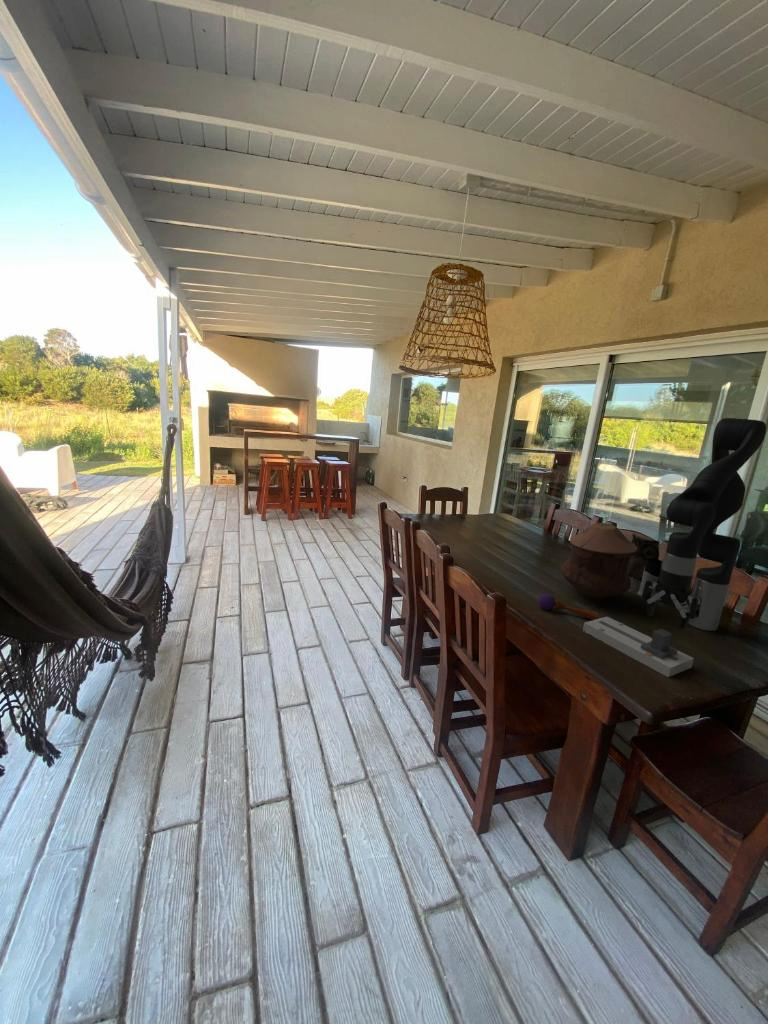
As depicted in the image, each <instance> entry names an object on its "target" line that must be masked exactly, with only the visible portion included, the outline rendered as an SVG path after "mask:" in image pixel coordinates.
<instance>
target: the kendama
mask: <svg viewBox="0 0 768 1024" xmlns="http://www.w3.org/2000/svg"><path fill="white" fill-rule="evenodd" d="M537 603H538V606H539V607H540V608H541V609H543V610H546V611H547V610H548V611H549V610H552V609H554V611H557V610H558V611H559V610H567V611H569V612H571V613H575V614H576V615H579V616H582V617H585V619H589V620H590V621H592V620H596V619H599V618H598V617H599V612H597V611H591V610H587V609H583V608H577V607H573V606H567V605H566V604H565V603H564V602H562V601H561V600H559V599H558V598H557V599H556V598H555V597H554V596H553V595H552V594H551V593H547V592H546V593H542V594H540V595H539V597H538V598H537Z"/></svg>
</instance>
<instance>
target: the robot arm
mask: <svg viewBox="0 0 768 1024" xmlns="http://www.w3.org/2000/svg"><path fill="white" fill-rule="evenodd" d="M714 427H715V428H714V431H713V436H712V447H711V463H710V464H708V465H706V466H705V467H704V468H703V469H702V470H700V471H699V473H698V474H697V475H696V477H695V479H694V480H693V482H692V483H691V485H690V486H689V487H688V488H686V489H685V490H684V491H683V492H681V493H680V494H678V495H676V497H675V498H674V499H672V501H670V502H669V504H668V506H667V508H666V517H667V519H668V520H669V522H671V523H674V524H678V525H681V526H688V527H692V529H691V530H690V531H688V532H683V531H682V532H681V531H676V532H672V533H670V535H669V537H668V541H667V546H666V550H665V552H664V556H663V559H662V561H663V562H662V566H661V571H660V575H659V582H658V583H656V582H654V580H649V581H646V583H645V587H644V590H643V594H642V596H641V598H642V599H643V600H645V601H646V602H647V605H646V611H645V612H646V613H647V614H646V615H647V616H649V617H652V616H654V614H655V611H656V607H657V603H656V602H658V601H662V602H664V603H668V604H670V605H672V606H675V607H676V610H677V611H678V612H679V613H680V619H679V622H678V627H677V629H678V630H680V631H681V630H684V629H686V628H688V627H689V625H690V626H691V627H694V628H696V629H699V630H703V631H709V632H715V631H717V630H718V628H719V627H718V626H719V624H720V619H721V616H722V613H723V608H724V606H725V605H724V604H725V601H726V598H727V593H728V589H729V586H730V581H731V579H732V578H731V577H732V575H733V574H732V573H733V570H734V568H735V565H736V562H737V558H738V555H739V552H740V548H741V541H740V539H739V538H737V537H733V536H727V535H724V534H717V533H714V532H715V530H716V529H717V528H718V527H719V526H720V525H722V523H724V522H726V521H727V520H728V519H730V518H731V517H732V516H734V515H735V514H737V513H738V512H739V511H740V510H741V509H742V507H743V504H744V500H745V493H746V485H745V482H744V480H743V479H742V477H741V475H740V474H739V472H738V471H740V469H741V468H742V467H743V466H744V465H745V464H746V463H747V462H748V461H749V459H751V458H752V456H754V454H755V453H756V452H757V451H758V450H759V448H760V447H761V445H762V444H763V442H764V439H765V436H766V433H767V424H766V423H765V422H764V421H762V420H758V419H748V418H747V419H746V418H735V417H727V418H726V417H724V418H722V419H720V420H719V421H718V422H717V423H716V425H715V426H714ZM730 451H732V452H731V453H730ZM697 557H700V558H701V559H704V560H708V561H712V562H718V563H721V565H718V566H713V567H700V568H698V569H697V571H696V574H695V578H694V573H695V569H696V565H697ZM693 578H694V582H693ZM692 582H693V586H692ZM655 587H656V590H657V592H658V594H656V595H654V596H653V597H651V593H652V590H653V588H655ZM691 587H692V590H691V594H690V589H691ZM660 599H662V600H660ZM687 600H688V601H689V603H687Z"/></svg>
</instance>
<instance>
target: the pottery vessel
mask: <svg viewBox="0 0 768 1024" xmlns="http://www.w3.org/2000/svg"><path fill="white" fill-rule="evenodd" d="M569 542H570V544H571V545H572V546H571V550H570V554H569V558H568V559H567V560H566V561H565V562H564V563H562V565H561V566H560V572H561V574H562V576H563V577H564V579H565V580H566V581H567V582H568V583H569V584H570V585H571V586H572V587H573V588H574V589H575V590H576V593H577V594H578V595H579V596H581V597H583V598H586V599H589V600H590V599H591V600H603V598H607V597H612V596H617V595H620V594H624V593H626V592H628V591H629V590H630V589H631V586H632V583H631V582H632V581H631V577H629V575H628V569H627V568H628V564H629V560H630V555H631V553H633V552H635V551H637V549H638V548H637V546H635V545H634V544H633V543H631V542H632V541H630V540H629V539H628V538H627V536H625V534H624V533H623V532H622V531H621V530H620V529H619V528H618V527H617V526H615V525H613V524H610V523H605V522H595V523H592V524H591V525H590V526H588V527H586V528H585V529H584V530H583V531H581V532H580V533H578V534H574V535H572V536H571V537H570V538H569Z"/></svg>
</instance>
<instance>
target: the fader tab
mask: <svg viewBox="0 0 768 1024" xmlns="http://www.w3.org/2000/svg"><path fill="white" fill-rule="evenodd" d="M672 636H673V633H671V632H670V631H667V630H665V629H663V628H660V629H657V630H654V631H653V633H652V637H651V638H652V641H651V642H648V643H645V644H642V645H641V648H642V649H644V650H646V651H648V652H649V653H651V654H653V655H655V656H657V657H659V658H661V659H662V658H665V657H667V656H670V655H673V654H675V653H677V651H679V650H678V649H677V648H675V647H673V646H671V645H670V644H671V640H672V638H673V637H672Z"/></svg>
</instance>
